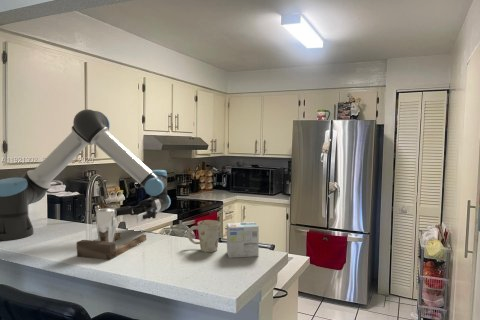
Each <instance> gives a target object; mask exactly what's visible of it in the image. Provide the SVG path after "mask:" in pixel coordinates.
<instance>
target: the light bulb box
mask: <svg viewBox="0 0 480 320" xmlns="http://www.w3.org/2000/svg"><path fill="white" fill-rule="evenodd" d="M259 232H260V231H259V225H258V224H257V223H256V222H255V221H253V222H251V221H250V222H248V221H247V222H232V223H231V222H230V223H229V222H226V253H227V256H228V258H229V259H230V258H231V259H232V258H247V257H248V258H249V257H250V258H251V257H259V254H260V253H259V250H260V249H259V248H260V247H259V246H260V244H259V242H260V241H259V237H260V236H259Z"/></svg>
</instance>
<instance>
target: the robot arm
mask: <svg viewBox="0 0 480 320" xmlns="http://www.w3.org/2000/svg"><path fill="white" fill-rule="evenodd" d="M73 117H74V118H73V121H72V123H73V125H72V126H71V132H70V134H68V136H67V137H65V138H64V139H63V141H61V143H59V144H58V145H57V146H56V148H54V150H53V151H52V152H50V153H49V154H48V156H46V158H44V159H43V160H42V161H41V163H39V165H38V166H36V168H34V169H30V170H28V171H26V172H25V173H24V174H23V176H21V177H8V178H1V179H0V241H11V240H17V239H18V240H19V239H24V238H26V237H29V236H32V235H33V234H34V226H33V224H32V221H31V218H30V215H29V205H31V204H35V203H37V202H40V201H41V200H43V198H44V197H45V196H46V194H47V191H48V190H50V188H51V187H52V186H51V185H52V184H51V183H52V181H53V180H55V179H56V177H57V176H59V174H60V173H61V172H62V171H64V170H65V168H66V167H67V166H68V165H70V163H71V162H72V161H73V160H74V159H75V158H76V157H77V156H79V154H80V153H81V152H82V151H83V150H84V149H85V148H86V147H87V146H93V145H95V146H97V147H98V149H99V150H101V151H102V152H103V153H104V154H105V155H106V156H108V158H110V159H111V160H112V161H114V163H116V164H117V165H118V166H119V167H120V168H121V169H122V170H124V171H125V172H126V173H127V174H128V175H129V176H130V177H131V178H132V179H133V180H135V182H137V183H138V184H139V185H140V186H141V187H142V188H143V189H144V191H145V193H146V194H147V195H149V196H150V197H149V198H146V199H144V200H141V201H139V202H138V203H137V205H135V206H131V205H128V206H122V207H117V208H114V209H116V218H117V217H118V216H126V215H130V216H136V223H141V222H143V221H145V220H148V219H151V218H152V219H156V217H157V214H158V213H161V212H163V211H166V210H167V209H168V208H169V207H170V206H171V203H172V202H171V201H172V200H171V198H170V196H169V195H168V174H167V170H164V169H150V168H149V167H148V166H147V165H146V164H145V163H144V162H142V160H140V159H139V157H137V156H136V155H135V154H134V153H132V151H131V150H129V149H128V148H127V147H126V146H125V145H124V144H123V143H122V142H121V141H120V140H118V139H117V138H116V137H115V136H114V135H113V134H111V132H110V129H111V127H110V126H111V122H110V119H109V117H108V116H107V115H105V114H104V113H103V112H100V111H98V110H92V109H88V108H87V109H82V110H80V111H78V112H77V113H76V115H75V116H73Z"/></svg>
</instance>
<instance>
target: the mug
mask: <svg viewBox="0 0 480 320" xmlns="http://www.w3.org/2000/svg"><path fill="white" fill-rule="evenodd" d="M220 229H221V222H220V221H219V220H216V219H215V220H214V219H213V220H212V219H205V220H199V221H198V222H197V225H193V226H191V227H190V228H189V229H188V230H187V239H188V241H190V242H191V243H192V244H194V245H199V247H200V251H201V252H204V253H213V252H216V251H218V245H219V240H220V239H219V237H220ZM194 230H197V232H198V239H199V241H195V240H194V239H193V237H192V232H193V231H194Z"/></svg>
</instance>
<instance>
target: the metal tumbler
mask: <svg viewBox="0 0 480 320" xmlns="http://www.w3.org/2000/svg"><path fill="white" fill-rule="evenodd" d="M95 211H96V214H95V228H96V234H97V240H98V241H104V242H115V241H114V239H115V234H116V233H117V220H118V219H117V217H116V209H115V208H114V207H113V208H112V207H111V208H110V207H109V208H107V207H106V208H105V207H104V208H100V209H99V208H98V209H97V210H95Z"/></svg>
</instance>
